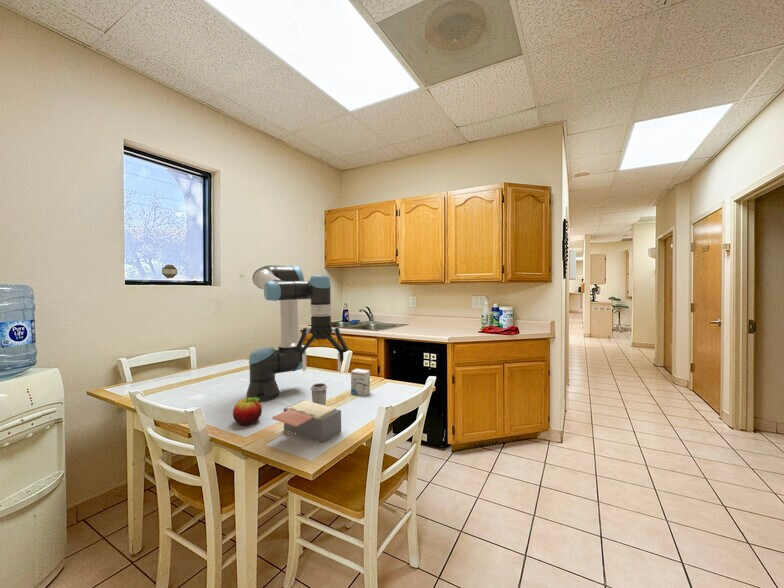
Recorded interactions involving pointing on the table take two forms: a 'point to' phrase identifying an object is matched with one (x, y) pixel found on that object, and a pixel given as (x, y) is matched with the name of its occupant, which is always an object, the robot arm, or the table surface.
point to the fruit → (247, 411)
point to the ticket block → (316, 421)
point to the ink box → (360, 382)
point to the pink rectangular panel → (292, 418)
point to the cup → (319, 393)
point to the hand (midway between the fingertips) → (321, 369)
